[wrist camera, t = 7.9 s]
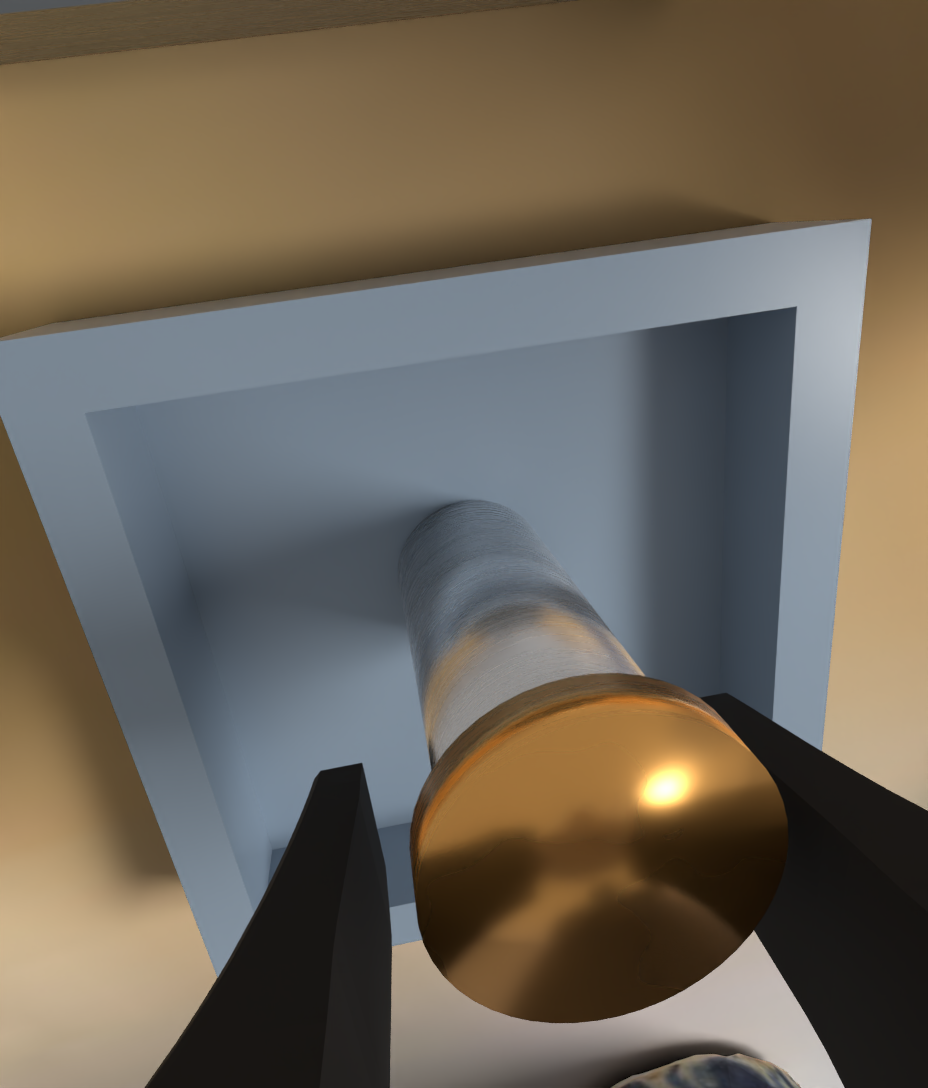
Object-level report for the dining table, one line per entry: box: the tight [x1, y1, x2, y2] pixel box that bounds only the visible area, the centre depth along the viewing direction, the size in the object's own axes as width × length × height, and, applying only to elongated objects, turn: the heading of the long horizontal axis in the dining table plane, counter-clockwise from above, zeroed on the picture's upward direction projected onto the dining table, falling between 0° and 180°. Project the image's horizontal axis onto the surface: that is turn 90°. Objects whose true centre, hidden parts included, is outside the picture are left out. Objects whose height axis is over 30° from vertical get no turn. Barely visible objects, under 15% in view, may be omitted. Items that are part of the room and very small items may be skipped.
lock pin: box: [398, 500, 788, 1023], centre depth 12 cm, size 4×4×9 cm
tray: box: [0, 219, 872, 977], centre depth 15 cm, size 14×14×3 cm
